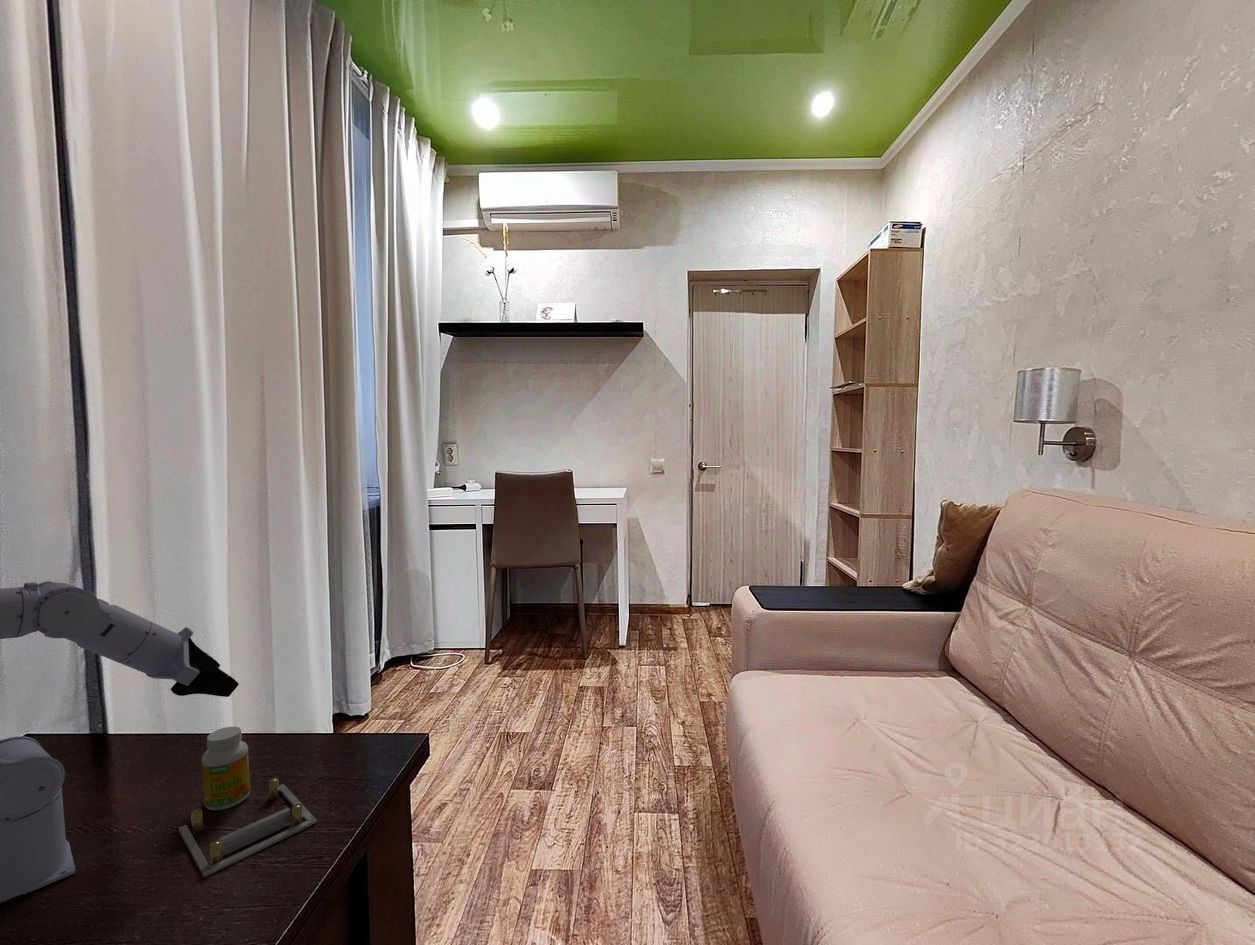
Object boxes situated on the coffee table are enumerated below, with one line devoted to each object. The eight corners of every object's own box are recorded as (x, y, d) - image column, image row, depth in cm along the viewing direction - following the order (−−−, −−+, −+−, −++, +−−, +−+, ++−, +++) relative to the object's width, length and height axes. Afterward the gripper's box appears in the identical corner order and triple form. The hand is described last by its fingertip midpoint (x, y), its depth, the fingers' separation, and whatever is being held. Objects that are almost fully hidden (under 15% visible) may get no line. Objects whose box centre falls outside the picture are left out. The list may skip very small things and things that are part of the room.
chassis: (203, 877, 68) (202, 857, 67) (179, 831, 76) (177, 813, 75) (316, 823, 77) (315, 805, 77) (283, 787, 85) (282, 770, 85)
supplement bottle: (206, 817, 78) (201, 747, 78) (203, 798, 83) (199, 732, 82) (253, 800, 82) (249, 734, 81) (248, 783, 86) (244, 720, 85)
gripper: (173, 631, 73) (263, 672, 82) (143, 598, 82) (227, 639, 91) (126, 682, 70) (224, 719, 79) (100, 643, 79) (191, 680, 88)
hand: (223, 679), depth 85 cm, fingers open, 7 cm apart
